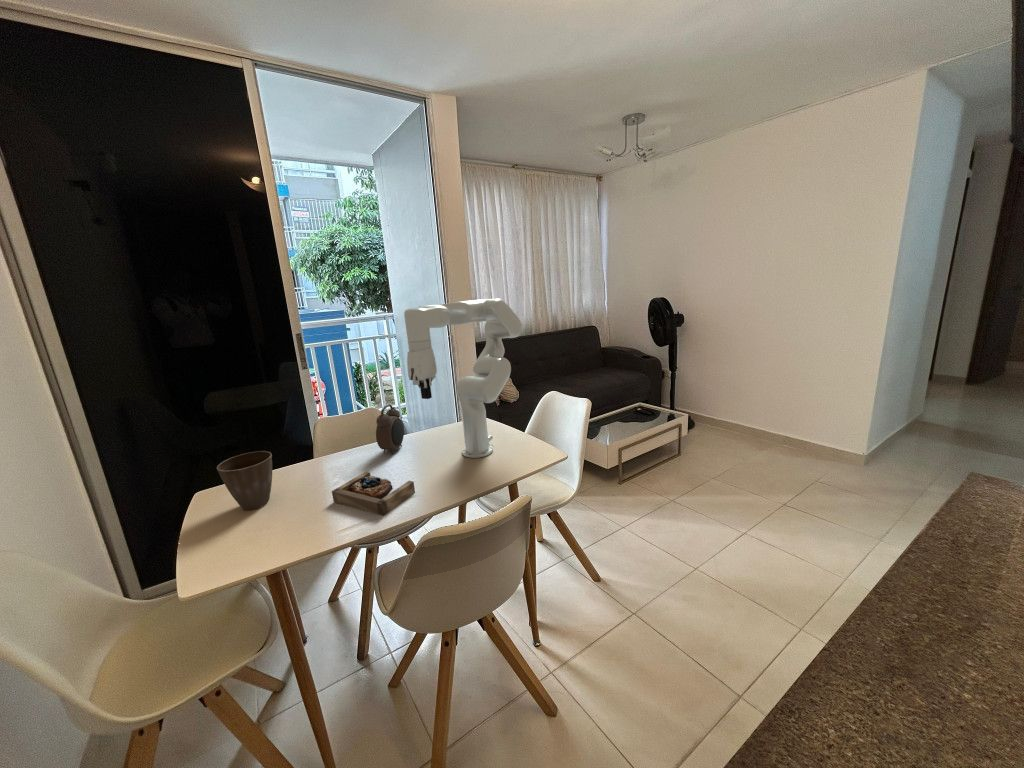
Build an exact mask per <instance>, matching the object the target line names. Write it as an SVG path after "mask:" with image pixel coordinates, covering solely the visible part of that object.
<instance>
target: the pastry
mask: <svg viewBox="0 0 1024 768" xmlns="http://www.w3.org/2000/svg"><path fill="white" fill-rule="evenodd" d="M391 490H393V485H392V482H391V480H389V479H387V478H382V477H377V476H375V475H371V476H369V477H362V478H361V480H360V481H359V482H356V483H355V484H354V485H352V487H351V492H354V493H358V494H362V495H366V496H370V497H374V498H378V499H383V498H384V497H386V496H387V495H389V494H390V493H391Z"/></svg>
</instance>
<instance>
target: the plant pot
mask: <svg viewBox="0 0 1024 768" xmlns="http://www.w3.org/2000/svg"><path fill="white" fill-rule="evenodd" d="M272 458H273V455H272V452H271V451H266V450H262V451H261V450H259V451H251V452H247V453H246V452H245V453H242V454H239V455H235V456H232V457H230V458H228V459H225V460H223V461H222V462H220V463H219V464H218V465H216V470H217V472H218V474H219V477H220V478H221V481H222V482H223V484H224V486H225V487H226V490H228V492H229V494H230V495H231V496H232V498H233V499H234V500H235V502H236V503H237V504H238V505H239V506H240V507H241V509H243V510H244V511H252V510H251V509H254V510H257V509H260V508H262V507H264V506H266V505H267V504H268V503H269V502H268V501H270V497H271V493H272V492H271V491H272V483H273V459H272ZM267 502H268V503H267ZM266 503H267V504H266ZM265 504H266V505H265ZM263 505H264V506H263ZM261 506H262V507H261ZM259 507H260V508H259ZM256 508H257V509H256Z"/></svg>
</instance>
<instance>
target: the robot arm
mask: <svg viewBox="0 0 1024 768" xmlns="http://www.w3.org/2000/svg"><path fill="white" fill-rule="evenodd" d="M403 316H404V324H405V325H404V326H405V330H406V337H407V345H408V351H407V357H406V358H407V359H406V361H407V362H406V364H407V377H408V380H409V381H412V385H413V386H418V388H419V389H420V395H421V396H420V397H421V399H423V400H424V399H425V400H426V399H427V400H429V399H431V398H433V397H432V388H431V387H432V382H433V380H434V379H436V375H437V371H438V370H437V363H436V357H435V354H434V349H433V348H432V347H433V346H432V339H431V331H430V329H433V328H434V329H441V328H445V327H446V326H448V325H451V326H452V325H455V326H459V325H469V324H474V323H480V322H481V323H482V322H485V323H484V335H485V341H486V342H485V347H484V348H483V350H482V351H481V352H480V354H479V356H478V357H477V359H476V361H475V362H474V364H473V367H472V373H473V375H472V376H471V375H466V376H463V377H461V378H459V380H458V381H457V384H456V394H457V399H458V401H459V404H460V411H461V418H462V427H463V428H462V429H463V436H464V437H463V438H464V447H463V448H462V449H461V454H462V456H464V457H466V458H471V459H479V458H484V457H487V456H489V455H490V454H492V453H493V451H494V448H493V446H492V444H490V441H492V440H493V438H494V437H493V435H491V434H488V423H487V411H486V406H485V404H491V403H494V402H495V401H496V400H497V399H498V397H499V395H500V394H501V392H502V391H503V389H504V387H505V385H506V384H507V383H508V380H509V379H510V376H511V372H512V366H511V362H510V361H509V360H508V359H507V358H506V357H504V355H505V347H504V344H503V341H502V338H503V339H505V338H506V339H514V338H518V337H519V336H520V335H521V333H522V331H523V324H522V321H521V319H520V318H519V316H517V314H516V313H515V312H514V310H513V309H512V308H511V307H510V305H509V304H507V303H506V301H504V300H502V299H501V298H485V299H482V298H481V299H474V300H463V301H461V300H460V301H454V302H448V303H442V304H441V303H440V304H431V305H429V304H428V305H421V306H417V307H416V308H414V307H413V308H407V309H405V310H404V312H403Z"/></svg>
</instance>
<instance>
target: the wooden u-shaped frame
mask: <svg viewBox="0 0 1024 768" xmlns="http://www.w3.org/2000/svg"><path fill="white" fill-rule="evenodd" d="M369 476H372V475H371V472H369V471H364V472H363V473H361V474H359V475H357V476H356V477H354V478H352V479H350V480H349V481H346V483H344V484H341V485H340V486H338V487H336V488H335V489H333V490H331V494H332V499H333V503H335V504H339V505H342V506H346V507H350V508H353V509H357V510H361V511H365V512H369V513H372V514H376V515H380V516H385V515H387V514H388V513H389V512H391V510H393V509H395V508H396V507H398V506H399V505H400V504H401V503H403V502H404V501H406V500H407V499H408V498H410V497H411V496H412V495H414V494H415V493H416V491H415V483H414V481H412V480H408V481H406V482H405V483H403V484H402V485H400V486H399V487H398V488H396V489H394V490H393V491H392V492H391V491H390V492H389V493H388V494H387V495H386V496H384V497H383V498H381V499H378V498H374V497H370V496H366V495H362V494H358V493H354V492H351V487H352V485H354V484H355V483H356V482H359V481H360V480H361V478H362V477H369Z"/></svg>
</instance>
